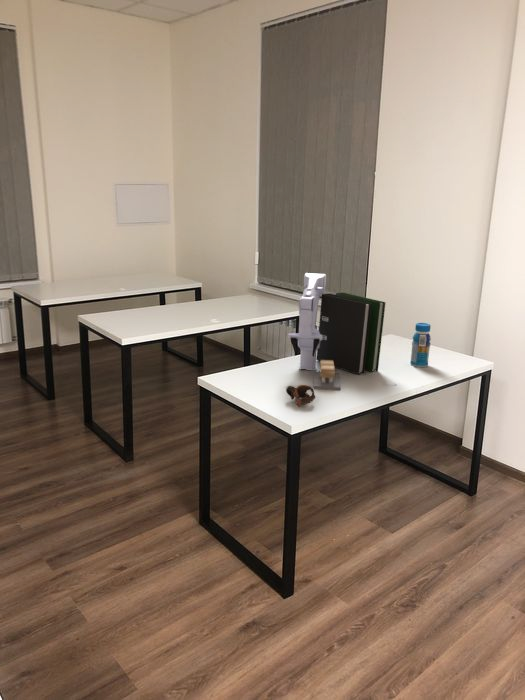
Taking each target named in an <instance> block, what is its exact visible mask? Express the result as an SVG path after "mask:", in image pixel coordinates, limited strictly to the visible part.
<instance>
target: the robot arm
mask: <svg viewBox="0 0 525 700" xmlns="http://www.w3.org/2000/svg"><path fill="white" fill-rule="evenodd" d="M326 284H327V275H326V273H314V272H313V273H312V272H311V273H310V272H309V273H308V272H305V274H304V276H303V286H304V287H303V288H304V289H303V292H302V296H301V297H299V300H298V315H299V319H298V320H299V321H298V332H297V333H296V332H295V333H288V337H287V339H288V340H290V343H291V345H292V348H293V351H294V356H297V347H298V348H299V349H300V356H299V357H300V362H299V364H298V365H299V366H298V369H299V370H301V369H306V370H305V371H317V370H318V369H317V368H318V367H317V360H316V358H317V349H319V348H320V340H322V335H320V332H319V329H317V327H316V326H317V319H318V318H317V317H318V309H319V301H320V297H321V296H322V294H325V291H326Z"/></svg>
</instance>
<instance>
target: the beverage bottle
mask: <svg viewBox="0 0 525 700" xmlns="http://www.w3.org/2000/svg"><path fill="white" fill-rule="evenodd" d="M431 326H432V325H431V324H430V323H426V322H417V323H416V324H415V327H414V329H415V332H414V334H413V336H412V341H411V346H412V347H411V355H410V366H413V367H416V368H426V367H428V366H429V358H430V357H429V356H430V347H431V342H430V341H431V340H432V338H431V335H430V332H431Z"/></svg>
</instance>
